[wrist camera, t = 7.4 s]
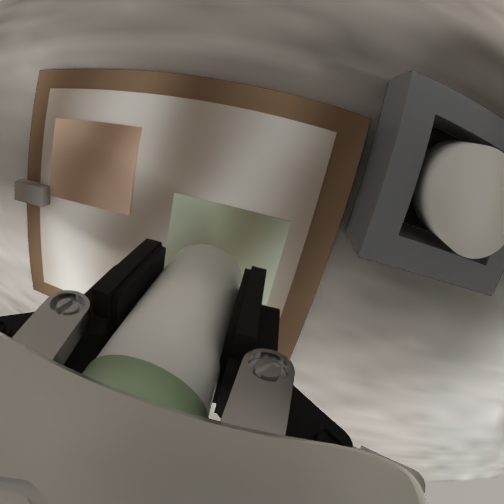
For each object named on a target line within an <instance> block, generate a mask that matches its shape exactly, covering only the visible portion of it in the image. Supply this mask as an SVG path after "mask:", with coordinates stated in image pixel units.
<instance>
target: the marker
mask: <svg viewBox="0 0 504 504" xmlns="http://www.w3.org/2000/svg"><path fill="white" fill-rule="evenodd" d="M242 278H243V276H242V272H241V270H240V267H239V266H238V264H237V262H236V261H235V260H234V259H233V258H232V257H231V256H230V255H229V254H228V253H227V252H225V251H224V250H222V249H220V248H218V247H215V246H212V245H208V244H195V245H190V246H187V247H185V248H183V249H182V250H180V251H179V252H178V253H177V254H176V255H175V256H174V257H173V258H172V260H171V261H170V262H169V263H168V265H167V266H166V267H165V268H164V270H163V271H162V272H161V273H160V275H159V276H158V277H157V278H156V280H155V281H154V282H153V283H152V285H151V286H150V287H149V288H148V290H147V291H146V292H145V294H144V295H143V296H142V297H141V299H140V300H139V301H138V303H137V304H136V305H135V306H134V308H133V309H132V310H131V312H130V313H129V314H128V316H127V317H126V318H125V320H124V321H123V322H122V323H121V325H120V326H119V327H118V329H117V330H116V331H115V333H114V334H113V336H112V337H111V338H110V340H109V341H108V342H107V344H106V345H105V346H104V348H103V349H102V350H101V352H100V353H99V355H98V356H97V357H96V359H94V360H93V361H91V362H90V363H89V365H88V366H87V367H86V369H85V370H84V372H83V373H82V374H83V375H86V376H88V377H90V378H92V379H95V380H97V381H100V382H102V383H104V384H107V385H109V386H112V387H114V388H117V389H119V390H122V391H125V392H127V393H130V394H133V395H135V396H138V397H141V398H144V399H147V400H150V401H153V402H156V403H159V404H162V405H165V406H168V407H171V408H174V409H177V410H180V411H184V412H187V413H191V414H194V415H198V416H201V417H205V418H209V417H208V416H209V412H210V408H211V405H212V401H213V397H214V394H215V390H216V386H217V382H218V379H219V375H220V358H221V354H222V349H223V345H224V341H225V337H226V333H227V329H228V326H229V322H230V319H231V315H232V312H233V308H234V305H235V302H236V298H237V295H238V291H239V288H240V284H241V281H242Z"/></svg>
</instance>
